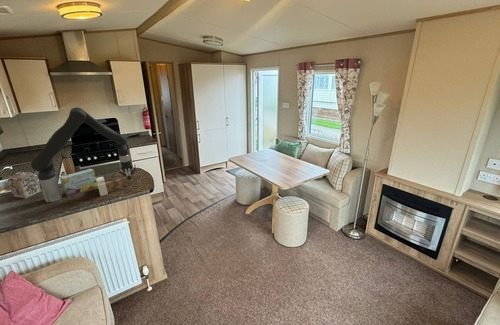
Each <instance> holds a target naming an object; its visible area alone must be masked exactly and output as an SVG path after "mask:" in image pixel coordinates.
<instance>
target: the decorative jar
mask: <svg viewBox="0 0 500 325" xmlns="http://www.w3.org/2000/svg"><path fill="white" fill-rule="evenodd" d="M7 183H8V186H9V189H10V191H11V193H12V195H13V197H15V198H22V199H28V198H30V197H32V196H34V195H36V194H39V193H41V192H42V188H41V185H40V183H39V180H38V177H37V176H36V175H35V174H33V173H32V172H24V171H19V172H16V173H15V174H14V175H11V176H10V177H9V178H8V180H7Z"/></svg>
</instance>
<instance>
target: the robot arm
mask: <svg viewBox="0 0 500 325" xmlns="http://www.w3.org/2000/svg"><path fill="white" fill-rule="evenodd" d="M83 124H86V125H88V126H90V127H91V128H92V129H93V130H94V131H96V132H97V133H99V134H100V135H102V136H103V137H105V138H107V139H109V140H111V141H112V142H114V143H115V145H116V148H117V152H118V156H119V157H118V158H119V164H120V169H119V170H118V173H119V174H121V175H123V176H124V177H126V180H128V181H131V179H132V176H133V175H134V173H135V171H136V167H134V166H133V165H132V161H131V157H130V156H131V155H130V152H129V149H128V147H127V143H128V139H127V138H126V136H124V135H121V134H120V133H118V132H116V131H115V130H114V129H112V128H111V127H109V126H106V125H105V124H104V123H102V122H100V121H99V120H97V119H96V118H94V117H93V116H92V115H90V114H89V113H88V112H87V111H86V110H84V109H83V108H82V107H73V108H71V109H70V111H69V115H68V117H67V119H66V120H65V122H64V123H63V125H61V127H59V128H58V129H57V130H56V131H54V132H53V134H52V135H51V136H50V138H49V139H48V140H47V142H46V144H45V145H44V147H43V148H42V150H41V151H40V152H39V153H38V154H37V155H36V156H35V157H34V159H32V160H31V163H30V166H31V168H32V170H34V171H36V172H38V174H37V180H38V182H39V185H40V188H41V192H42V194H43V197H44V200H45V202H46V203H52V202H56V201H59V200H61V199H62V198H63V195H62V192H61V189H60V186H59V182H58V180H57V176H56V170H55V166H54V163H53V160H52V159H53V158H54V157H55V156H56V155H58V154H59V152H60V151H61V150H62V149H64V147H65V146H66V145H67V144H68V142H69V141H70V140H71V138H72V137H73V135H74V134H75V132H76V131H77V130H78V129H79V128H80V127H81V125H83Z"/></svg>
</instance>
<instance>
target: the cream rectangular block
mask: <svg viewBox="0 0 500 325" xmlns="http://www.w3.org/2000/svg"><path fill="white" fill-rule="evenodd" d="M96 181H97V185H98V187H97V188H98V192H99V195H100V197H103V196H104V197H105V196H107V195H108V194H109V192H107V188H106V184H105V182H106V181H105V177H104V176H98V177H96Z"/></svg>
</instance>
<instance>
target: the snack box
mask: <svg viewBox="0 0 500 325" xmlns="http://www.w3.org/2000/svg"><path fill="white" fill-rule="evenodd" d="M96 178H97V177H96V173H95V170H94V169H92V168H88V169H84V170H81V171H77V172H73V173H70V174H66V175H65V174H64V175H63V176H62V175H61V176H60V177H59V180H60V183H61V187H62V189H63V190H62V191H63V193H64V195H66V197H70V196H73V195H76V194H79V192H80V193H83V192H86V191H88V190H91V189H94V188H98V184H97V180H96Z"/></svg>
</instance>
